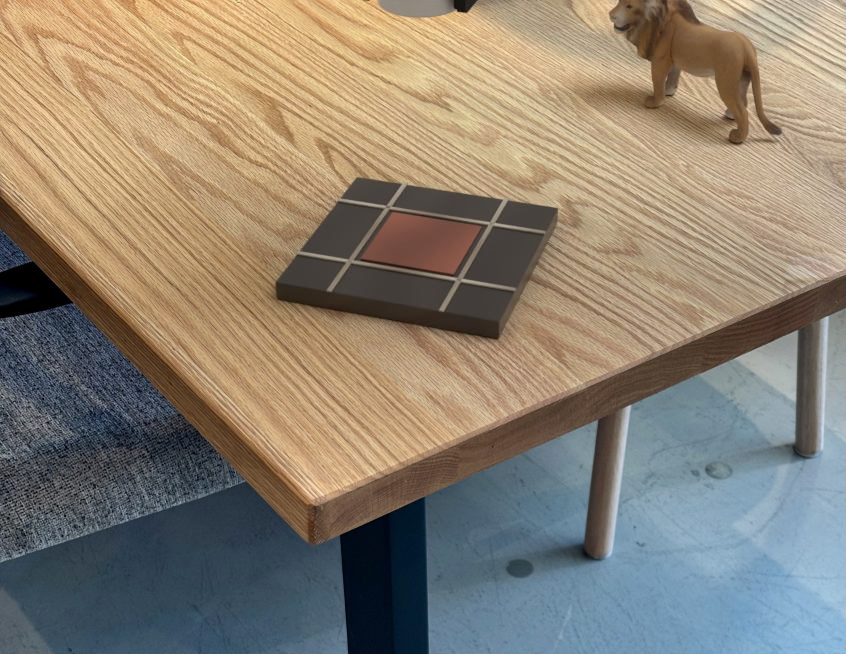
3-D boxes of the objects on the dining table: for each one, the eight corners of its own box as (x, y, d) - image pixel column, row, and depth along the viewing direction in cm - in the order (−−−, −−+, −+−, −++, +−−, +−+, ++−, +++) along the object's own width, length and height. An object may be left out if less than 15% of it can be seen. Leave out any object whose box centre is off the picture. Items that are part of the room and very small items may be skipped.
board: (557, 223, 87) (558, 206, 86) (498, 339, 77) (499, 320, 76) (357, 192, 90) (356, 175, 89) (276, 299, 80) (274, 280, 79)
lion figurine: (591, 97, 101) (600, -22, 95) (629, 75, 104) (641, -43, 98) (762, 154, 94) (784, 28, 88) (798, 128, 97) (822, 5, 91)
